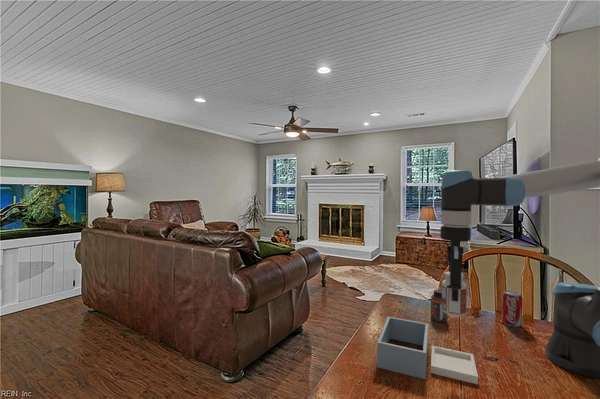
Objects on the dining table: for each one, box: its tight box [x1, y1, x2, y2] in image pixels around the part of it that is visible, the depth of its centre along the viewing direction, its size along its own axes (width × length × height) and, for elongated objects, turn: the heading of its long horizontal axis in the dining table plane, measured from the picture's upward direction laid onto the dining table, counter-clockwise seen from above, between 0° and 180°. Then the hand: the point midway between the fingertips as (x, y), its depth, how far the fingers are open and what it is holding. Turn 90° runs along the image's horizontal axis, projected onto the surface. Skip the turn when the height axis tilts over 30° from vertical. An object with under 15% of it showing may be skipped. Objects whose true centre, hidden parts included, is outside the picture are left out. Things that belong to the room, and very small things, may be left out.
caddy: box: [376, 316, 429, 381], centre depth 88 cm, size 13×20×7 cm, turn 155°
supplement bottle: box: [430, 289, 448, 323], centre depth 115 cm, size 6×6×11 cm
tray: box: [430, 345, 479, 385], centre depth 83 cm, size 11×12×2 cm
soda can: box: [501, 290, 524, 328], centre depth 111 cm, size 6×6×12 cm
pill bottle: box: [441, 271, 467, 317], centre depth 83 cm, size 6×6×11 cm
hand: (453, 307), depth 83 cm, fingers closed on pill bottle, 6 cm apart
